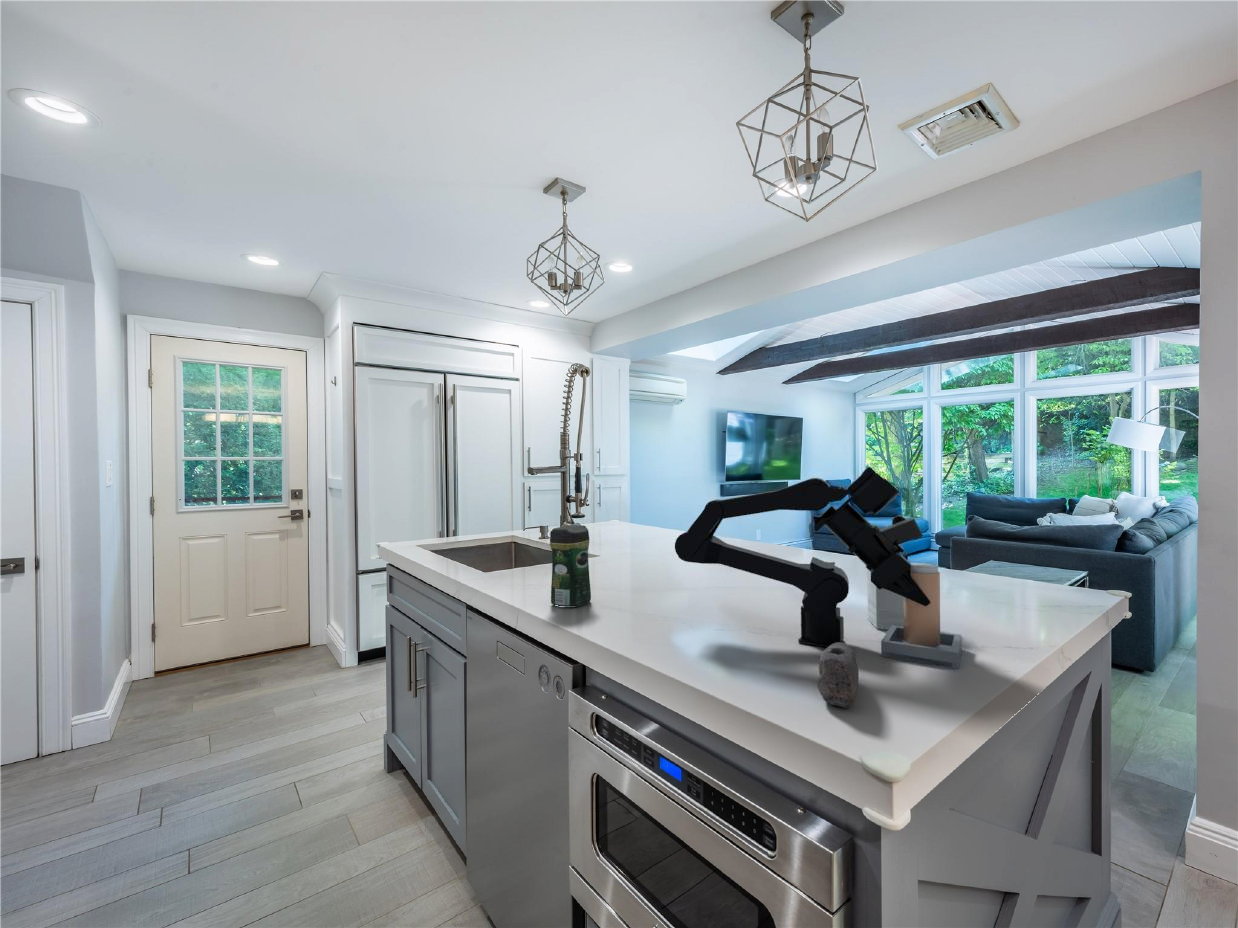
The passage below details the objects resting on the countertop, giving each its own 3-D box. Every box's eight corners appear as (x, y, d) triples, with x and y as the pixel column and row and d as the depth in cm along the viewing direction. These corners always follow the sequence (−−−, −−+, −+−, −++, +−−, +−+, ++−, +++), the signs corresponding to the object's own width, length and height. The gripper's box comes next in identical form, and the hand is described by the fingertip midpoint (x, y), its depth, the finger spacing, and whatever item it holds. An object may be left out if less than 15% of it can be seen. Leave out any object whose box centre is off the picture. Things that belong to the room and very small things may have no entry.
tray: (881, 655, 94) (881, 641, 94) (891, 638, 103) (891, 625, 103) (957, 668, 88) (957, 652, 88) (961, 649, 97) (961, 634, 97)
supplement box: (917, 631, 107) (916, 565, 107) (875, 629, 109) (874, 564, 109) (905, 620, 114) (904, 559, 114) (866, 619, 116) (866, 558, 116)
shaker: (912, 646, 93) (911, 568, 93) (898, 636, 98) (897, 562, 98) (946, 647, 92) (946, 568, 92) (930, 636, 98) (930, 562, 98)
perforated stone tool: (825, 672, 87) (824, 628, 87) (862, 677, 85) (861, 632, 85) (813, 711, 73) (813, 658, 73) (857, 719, 71) (856, 664, 71)
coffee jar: (569, 597, 138) (568, 522, 138) (596, 601, 134) (595, 524, 134) (544, 606, 130) (543, 526, 130) (571, 610, 126) (570, 528, 126)
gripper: (893, 505, 89) (975, 580, 84) (889, 498, 106) (957, 560, 101) (840, 551, 92) (916, 626, 87) (845, 537, 109) (909, 599, 104)
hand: (926, 600), depth 95 cm, fingers closed on shaker, 5 cm apart
